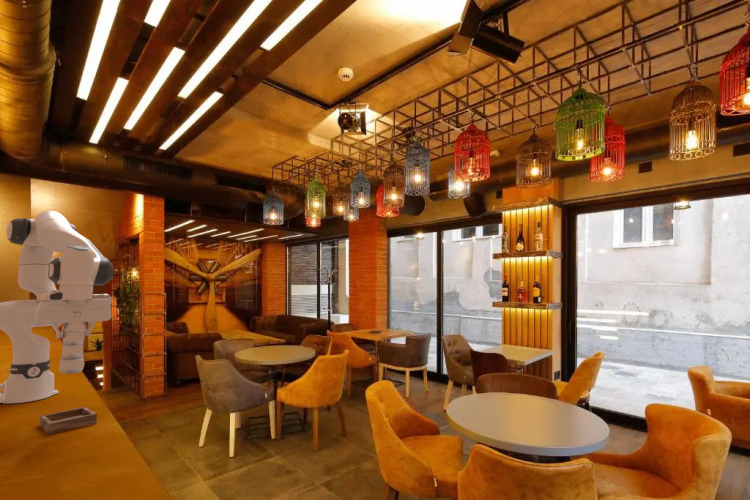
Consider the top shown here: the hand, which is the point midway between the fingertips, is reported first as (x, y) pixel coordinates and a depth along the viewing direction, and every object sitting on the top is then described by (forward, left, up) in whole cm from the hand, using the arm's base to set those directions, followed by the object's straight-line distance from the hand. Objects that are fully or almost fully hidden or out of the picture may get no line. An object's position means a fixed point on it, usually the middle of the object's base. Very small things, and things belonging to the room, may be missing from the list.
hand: (73, 336), depth 127 cm
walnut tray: (0, 0, -28) cm, 28 cm away
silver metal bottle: (0, 0, -12) cm, 12 cm away
